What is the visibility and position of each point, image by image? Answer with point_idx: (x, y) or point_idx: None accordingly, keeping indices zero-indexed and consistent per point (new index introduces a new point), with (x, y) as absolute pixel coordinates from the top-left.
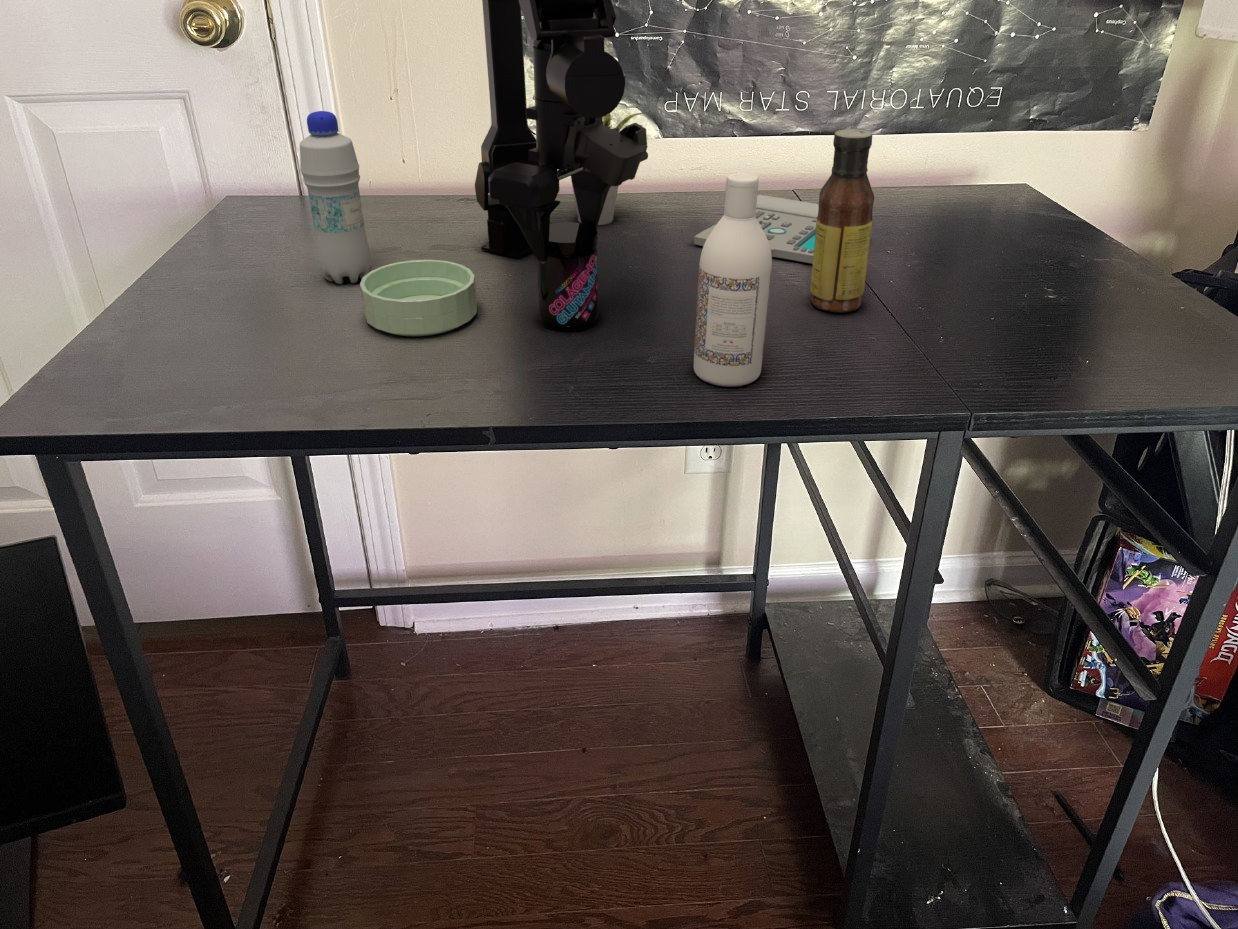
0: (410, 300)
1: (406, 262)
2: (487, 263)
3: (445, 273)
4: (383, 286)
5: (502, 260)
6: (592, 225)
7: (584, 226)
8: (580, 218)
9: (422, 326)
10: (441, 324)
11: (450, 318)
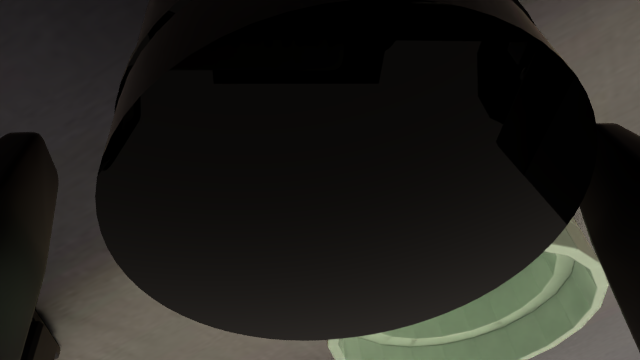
0: (601, 278)
1: None
2: (104, 311)
3: None
4: (430, 341)
5: (61, 304)
6: (11, 195)
7: (147, 208)
8: (37, 297)
9: None
10: None
11: None
